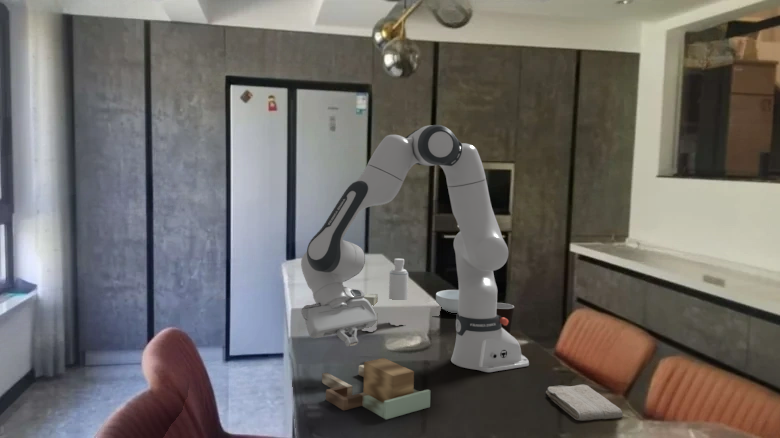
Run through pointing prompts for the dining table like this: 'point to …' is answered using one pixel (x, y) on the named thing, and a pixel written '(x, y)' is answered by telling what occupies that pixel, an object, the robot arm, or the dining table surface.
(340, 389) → the lane
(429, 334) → the dining table surface
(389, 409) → the end wall
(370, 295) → the skincare box
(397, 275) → the white bottle
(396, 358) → the dining table surface
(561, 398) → the washcloth
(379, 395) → the block
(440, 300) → the cereal bowl
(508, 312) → the coffee mug
